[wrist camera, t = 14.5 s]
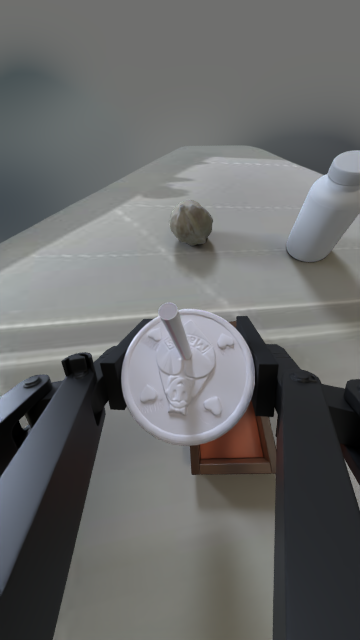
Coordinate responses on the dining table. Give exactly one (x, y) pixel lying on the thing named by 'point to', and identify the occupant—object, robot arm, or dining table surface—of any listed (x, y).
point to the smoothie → (187, 376)
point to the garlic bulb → (191, 222)
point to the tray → (238, 448)
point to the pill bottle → (327, 210)
